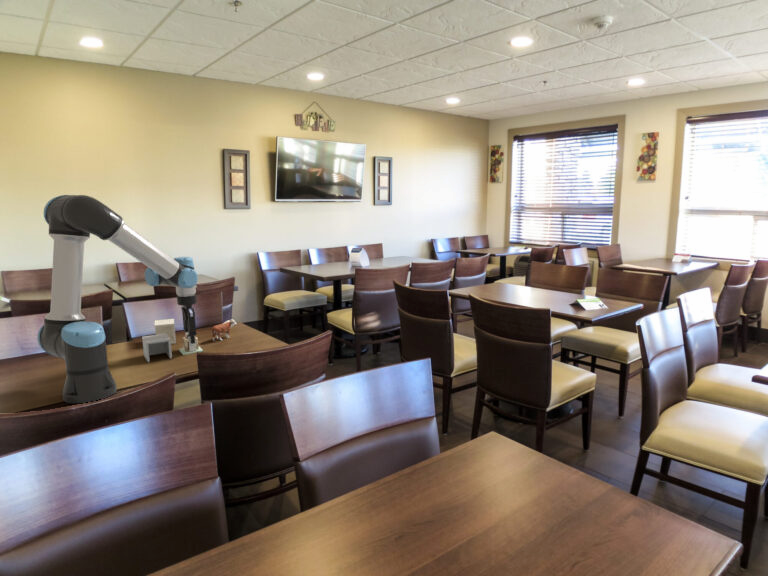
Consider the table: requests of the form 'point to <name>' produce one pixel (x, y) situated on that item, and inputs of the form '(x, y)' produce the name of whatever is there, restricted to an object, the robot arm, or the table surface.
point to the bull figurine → (223, 329)
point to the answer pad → (189, 351)
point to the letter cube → (186, 344)
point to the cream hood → (166, 328)
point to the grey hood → (156, 345)
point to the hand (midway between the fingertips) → (191, 348)
